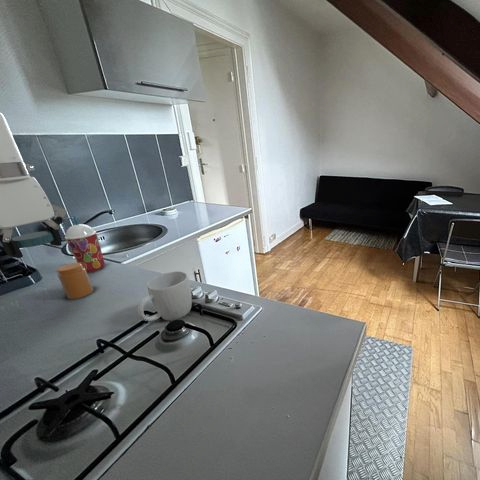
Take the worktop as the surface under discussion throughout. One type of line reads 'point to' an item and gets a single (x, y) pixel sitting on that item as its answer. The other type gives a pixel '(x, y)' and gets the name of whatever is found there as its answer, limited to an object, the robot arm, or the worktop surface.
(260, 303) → the worktop surface
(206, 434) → the worktop surface
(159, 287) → the mug
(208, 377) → the worktop surface
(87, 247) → the smoothie
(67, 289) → the jam jar
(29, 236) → the jar lid
